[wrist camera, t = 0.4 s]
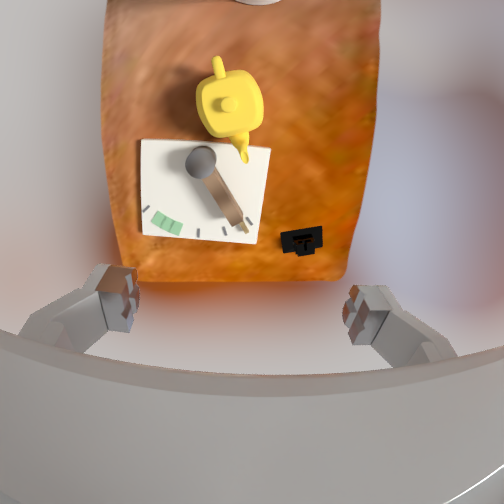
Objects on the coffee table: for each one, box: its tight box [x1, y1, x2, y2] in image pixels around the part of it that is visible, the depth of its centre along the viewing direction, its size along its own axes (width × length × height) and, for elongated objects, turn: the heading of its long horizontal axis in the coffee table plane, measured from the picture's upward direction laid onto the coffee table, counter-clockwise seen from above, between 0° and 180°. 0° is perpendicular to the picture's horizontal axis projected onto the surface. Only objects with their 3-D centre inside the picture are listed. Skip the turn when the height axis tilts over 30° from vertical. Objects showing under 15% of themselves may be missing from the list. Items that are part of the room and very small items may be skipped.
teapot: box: [196, 56, 264, 164], centre depth 42 cm, size 18×11×11 cm, turn 15°
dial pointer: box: [185, 146, 249, 234], centre depth 51 cm, size 20×5×4 cm, turn 28°
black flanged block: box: [280, 226, 323, 257], centre depth 60 cm, size 12×7×5 cm, turn 99°
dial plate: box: [141, 139, 271, 244], centre depth 54 cm, size 20×24×2 cm
